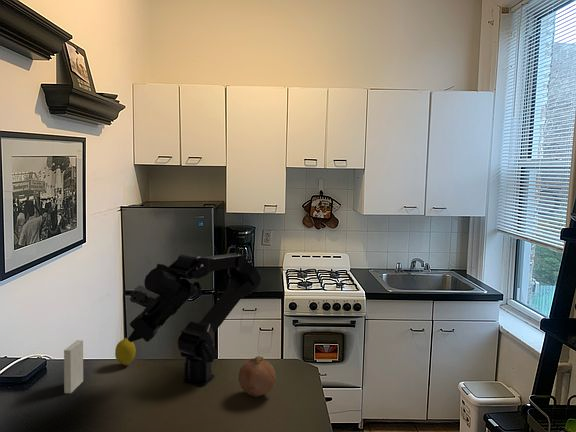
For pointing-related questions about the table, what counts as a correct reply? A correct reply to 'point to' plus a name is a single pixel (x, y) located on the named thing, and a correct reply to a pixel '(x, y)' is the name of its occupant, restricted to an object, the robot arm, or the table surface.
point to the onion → (257, 376)
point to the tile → (73, 366)
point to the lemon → (125, 351)
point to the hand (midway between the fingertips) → (129, 340)
